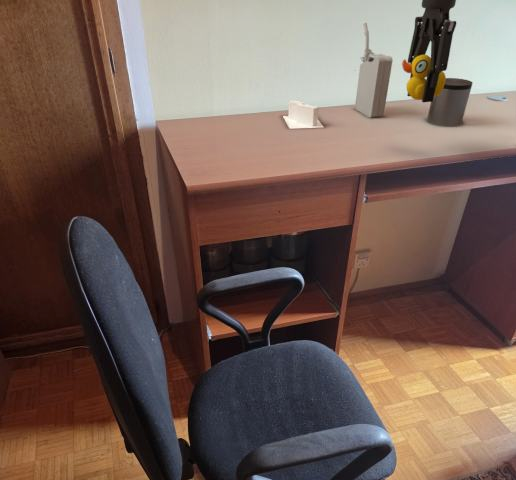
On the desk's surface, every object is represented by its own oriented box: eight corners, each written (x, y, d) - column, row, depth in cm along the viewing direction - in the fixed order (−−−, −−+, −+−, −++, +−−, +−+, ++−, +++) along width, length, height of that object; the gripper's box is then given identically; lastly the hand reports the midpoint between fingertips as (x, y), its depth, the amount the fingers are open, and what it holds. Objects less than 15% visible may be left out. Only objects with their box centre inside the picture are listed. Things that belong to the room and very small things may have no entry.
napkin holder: (324, 127, 144) (326, 107, 140) (289, 128, 143) (290, 109, 139) (314, 114, 155) (315, 96, 151) (282, 116, 154) (282, 97, 150)
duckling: (396, 101, 118) (403, 56, 111) (396, 96, 121) (403, 52, 115) (441, 102, 115) (451, 57, 109) (440, 98, 119) (450, 53, 113)
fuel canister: (350, 107, 163) (360, 22, 146) (363, 106, 164) (374, 22, 147) (369, 118, 152) (383, 28, 135) (383, 117, 153) (397, 27, 136)
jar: (462, 127, 143) (473, 86, 136) (426, 124, 146) (435, 84, 138) (461, 118, 151) (471, 79, 143) (427, 115, 154) (435, 77, 146)
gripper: (405, -15, 109) (388, 92, 124) (453, -12, 95) (427, 108, 110) (432, -16, 111) (412, 89, 126) (483, -13, 97) (454, 105, 112)
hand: (419, 98), depth 118 cm, fingers closed on duckling, 6 cm apart
